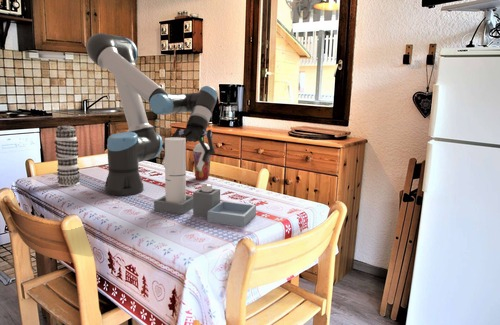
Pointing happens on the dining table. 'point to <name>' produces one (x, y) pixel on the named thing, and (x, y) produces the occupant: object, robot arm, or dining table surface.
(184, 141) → the white tall block
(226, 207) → the tray
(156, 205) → the dark grey square bin
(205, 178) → the smoothie
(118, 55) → the robot arm
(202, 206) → the housing block
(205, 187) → the plunger
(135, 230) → the dining table surface
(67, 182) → the decorative candle
